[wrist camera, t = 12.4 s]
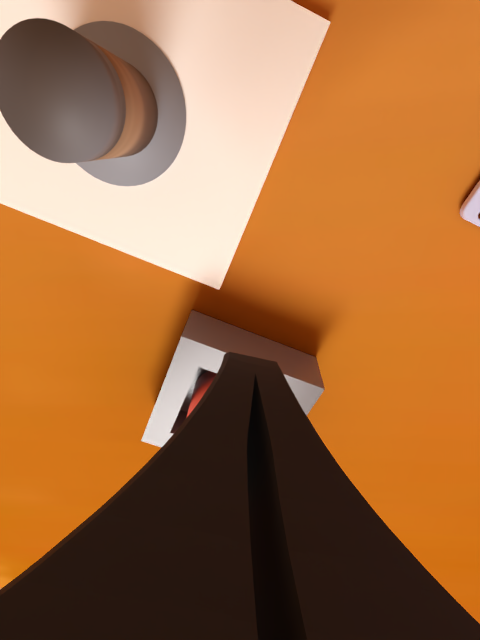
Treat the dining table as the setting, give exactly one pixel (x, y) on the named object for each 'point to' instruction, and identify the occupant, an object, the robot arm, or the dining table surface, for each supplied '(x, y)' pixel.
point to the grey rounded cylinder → (72, 95)
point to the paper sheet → (174, 126)
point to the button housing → (207, 355)
